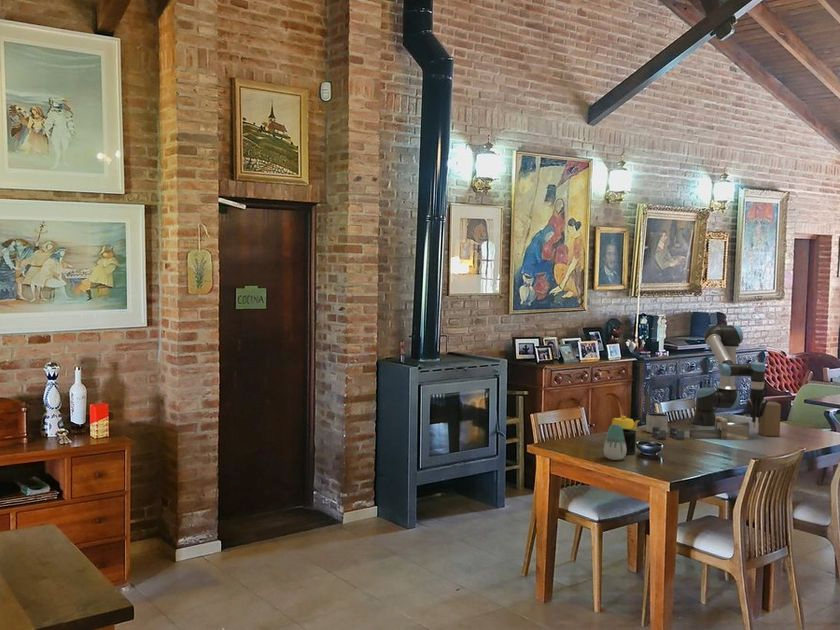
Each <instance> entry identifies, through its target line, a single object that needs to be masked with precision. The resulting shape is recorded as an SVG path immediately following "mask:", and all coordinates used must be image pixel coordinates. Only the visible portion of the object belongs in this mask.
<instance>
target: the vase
mask: <svg viewBox="0 0 840 630" xmlns="http://www.w3.org/2000/svg"><path fill="white" fill-rule="evenodd" d="M626 452H627V448H626V443H625V438H624V433H623V429H622V427H621V426H620V425H613V424H612V423H611V424H610V426H609V428H608V430H607V434H606V436H605V440H604V445H603V455H604V456H605V458H607V460H611V461H621V460H624V459H625V457H626V455H627V454H626Z"/></svg>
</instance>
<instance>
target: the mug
mask: <svg viewBox="0 0 840 630" xmlns="http://www.w3.org/2000/svg"><path fill="white" fill-rule="evenodd" d="M623 433H624V438H625V443H626V448H627V452H626V455H634V454H635V453H636V435H637V433H638V430H636V431H635V430H632V429H623Z"/></svg>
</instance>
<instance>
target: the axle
mask: <svg viewBox="0 0 840 630" xmlns="http://www.w3.org/2000/svg"><path fill="white" fill-rule="evenodd" d="M721 424H722V421H721V422H718V423H717V430H718V431H721ZM727 428H747V429H748V431H749V432H750V428H751V426H750V422H748V421H747V422H743V421H742V422H740V421H739V422H738V421H737V422H736V421H734V422H728V421H727Z"/></svg>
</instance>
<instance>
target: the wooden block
mask: <svg viewBox="0 0 840 630" xmlns="http://www.w3.org/2000/svg"><path fill="white" fill-rule="evenodd" d="M767 401H768V400H767ZM761 405H762V403H761ZM760 409H761V406H760ZM781 409H782V405H781V404H780V403H778V402H776V401H768V402H767V404H766V406H765V410H764V414H763V416H761V417H760V419H759V423H758V428H757V429H758V431H757V432H758V434H759V435H761V436H763V437H775V438H776V437H780V433H781V414H782V413H781V411H782V410H781Z"/></svg>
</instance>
